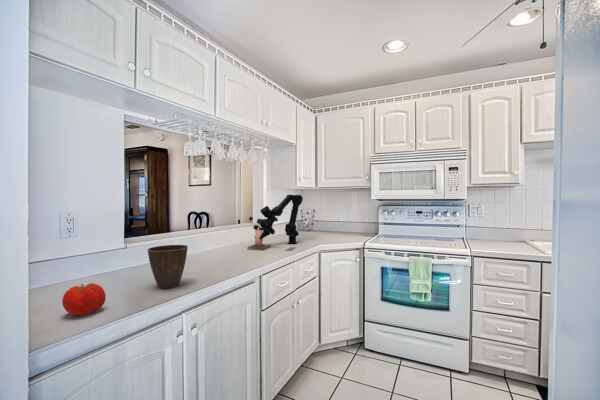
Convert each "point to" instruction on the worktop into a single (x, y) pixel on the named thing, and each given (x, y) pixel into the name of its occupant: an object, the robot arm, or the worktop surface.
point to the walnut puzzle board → (258, 247)
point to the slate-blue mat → (290, 248)
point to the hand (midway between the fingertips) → (257, 238)
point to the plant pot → (167, 264)
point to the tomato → (83, 299)
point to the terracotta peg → (257, 235)
